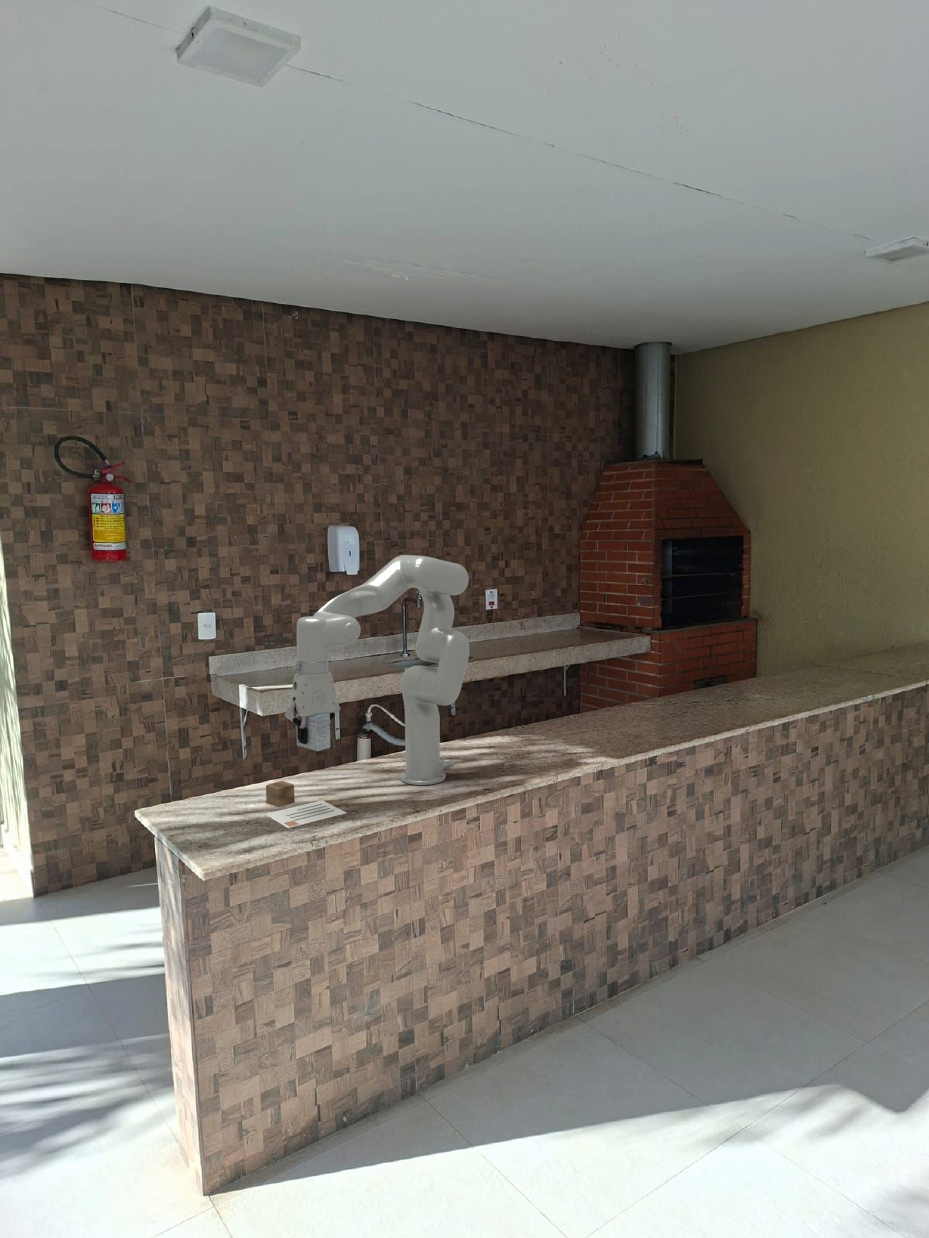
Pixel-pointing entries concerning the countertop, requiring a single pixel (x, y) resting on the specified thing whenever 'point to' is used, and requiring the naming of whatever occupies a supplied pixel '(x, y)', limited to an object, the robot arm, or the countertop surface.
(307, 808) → the letter
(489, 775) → the countertop surface
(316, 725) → the medicine box
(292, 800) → the walnut block
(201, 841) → the countertop surface
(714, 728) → the countertop surface
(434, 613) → the robot arm
